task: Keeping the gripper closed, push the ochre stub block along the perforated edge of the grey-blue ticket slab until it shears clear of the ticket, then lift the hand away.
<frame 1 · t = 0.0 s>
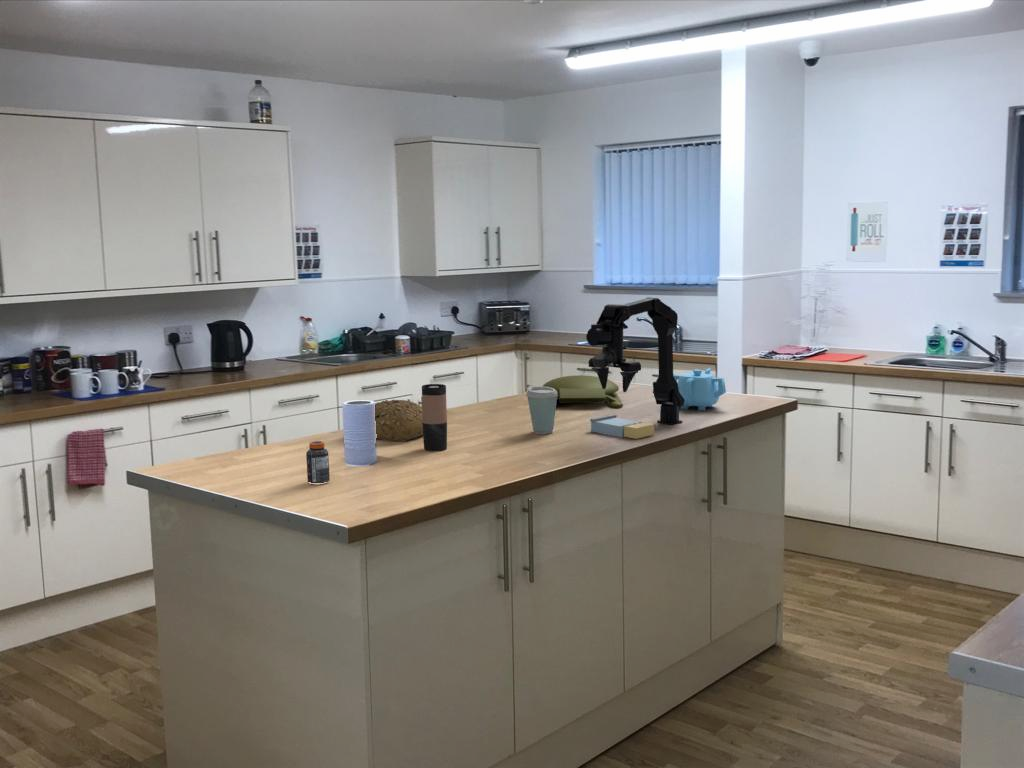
hand: (614, 390, 328), 15 cm above the countertop, fingers open, 9 cm apart
ticket: (616, 431, 334), on the countertop
stub: (639, 430, 326), point 2 cm above the countertop, slide at 0.0 cm
teapot: (698, 407, 378), on the countertop
disposable coffee cup: (542, 433, 335), on the countertop
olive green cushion: (580, 402, 394), on the countertop
bread: (393, 436, 334), on the countertop
travel mug: (435, 449, 312), on the countertop
pill bottle: (318, 483, 273), on the countertop
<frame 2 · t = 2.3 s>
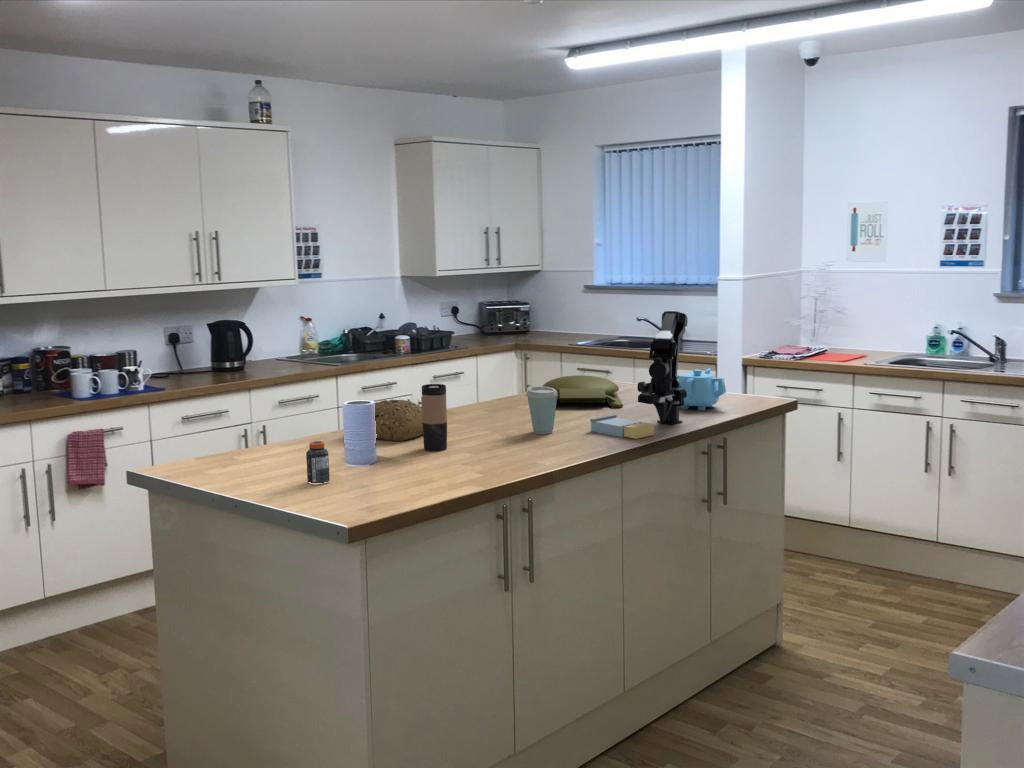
hand: (662, 421, 334), 3 cm above the countertop, fingers closed
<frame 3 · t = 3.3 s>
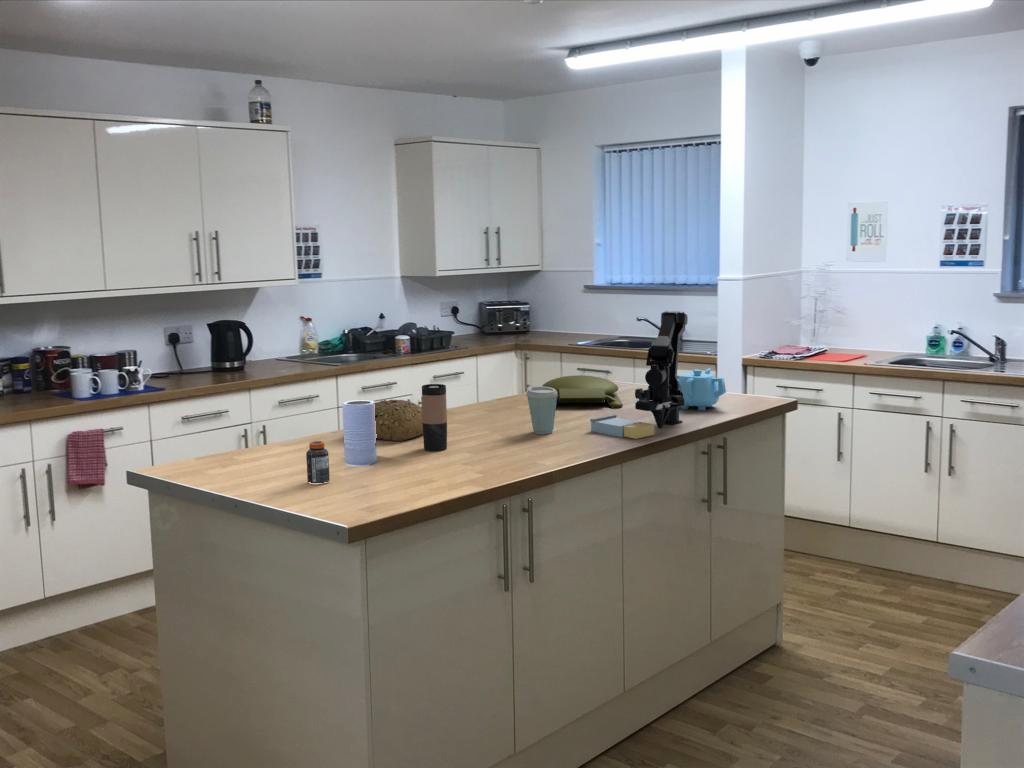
hand: (659, 428, 333), 1 cm above the countertop, fingers closed
nothing on the countertop moved.
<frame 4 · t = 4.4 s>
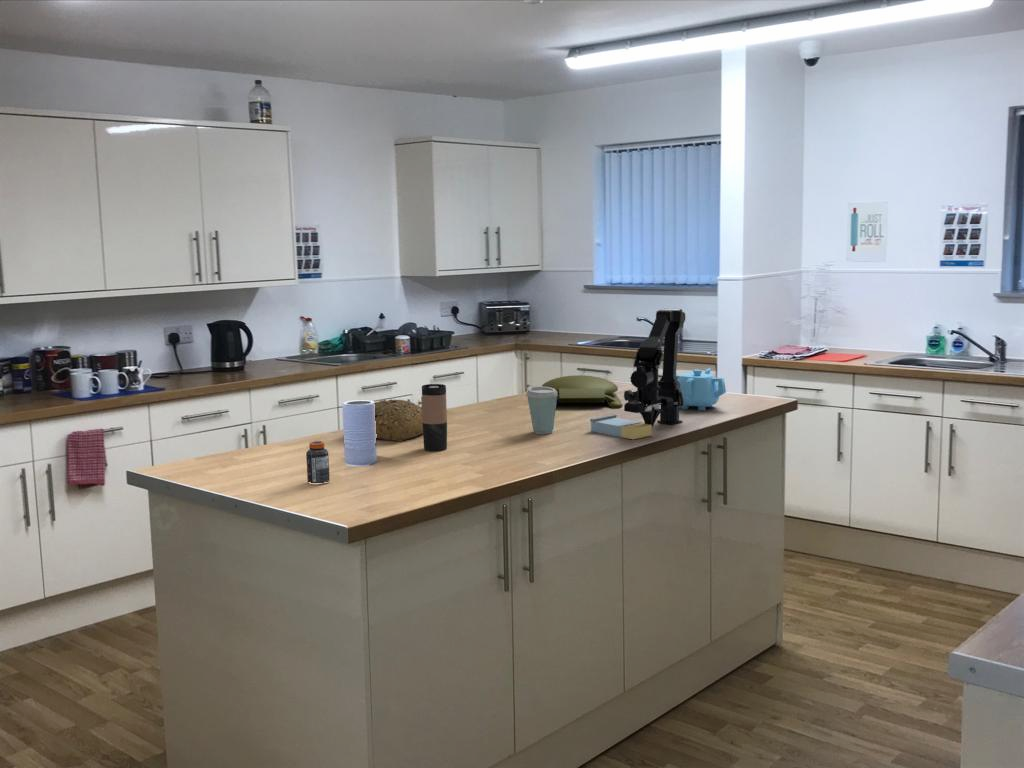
hand: (649, 430, 329), 1 cm above the countertop, fingers closed
stub: (636, 430, 325), point 2 cm above the countertop, slide at 1.3 cm, touching gripper
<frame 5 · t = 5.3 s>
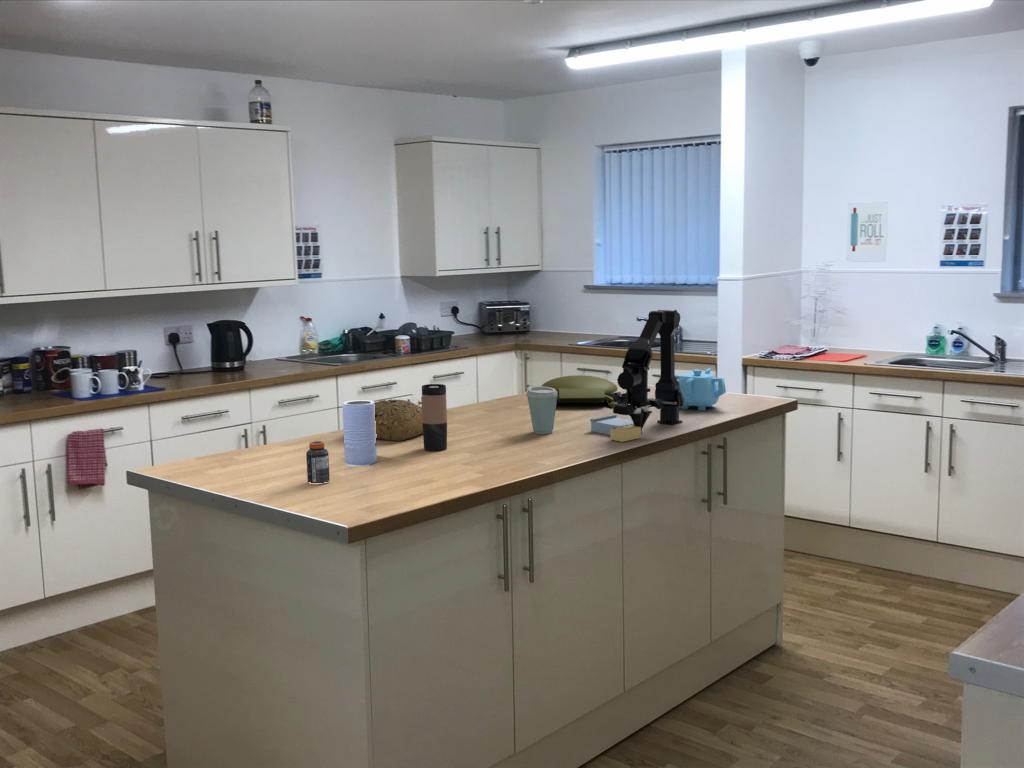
hand: (638, 432, 326), 1 cm above the countertop, fingers closed
stub: (625, 433, 322), point 2 cm above the countertop, slide at 6.5 cm, touching gripper
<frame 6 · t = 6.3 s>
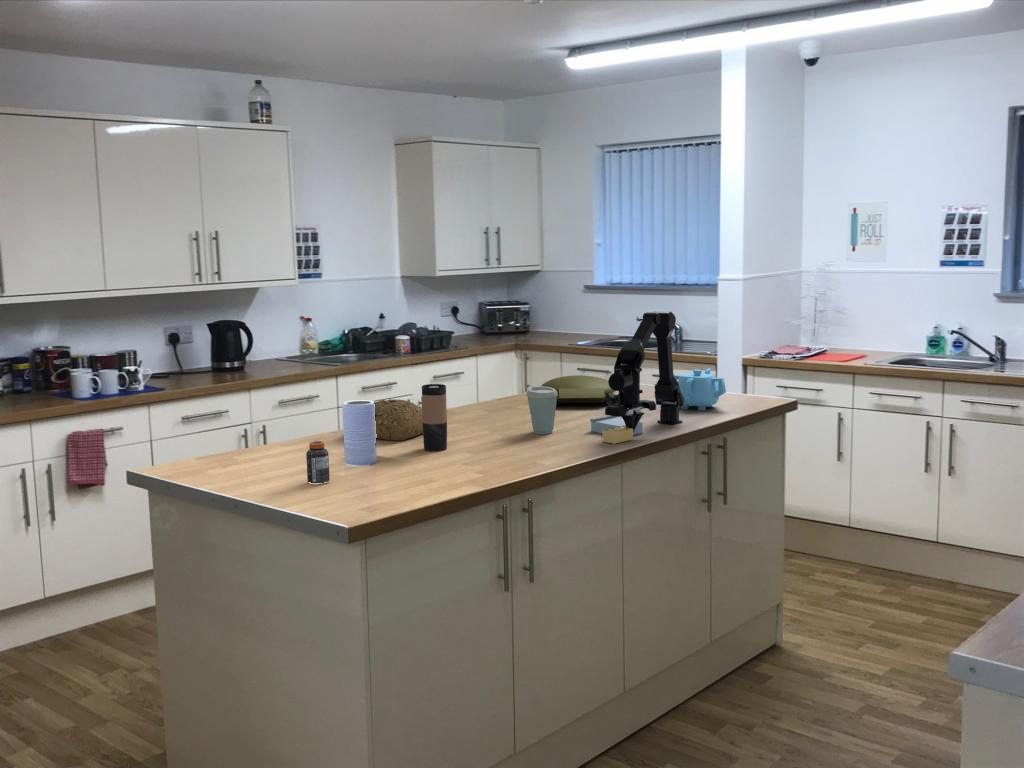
hand: (630, 434, 323), 1 cm above the countertop, fingers closed
stub: (617, 434, 320), point 2 cm above the countertop, slide at 10.3 cm, touching gripper
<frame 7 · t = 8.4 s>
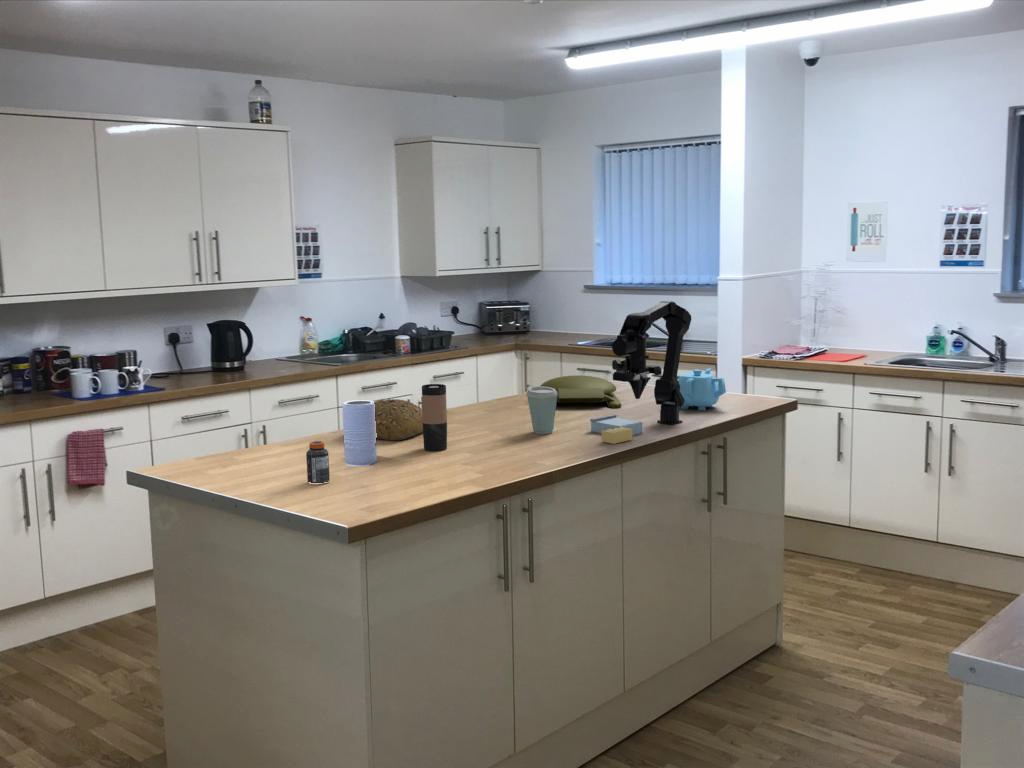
hand: (637, 398, 332), 11 cm above the countertop, fingers closed
stub: (617, 434, 319), point 2 cm above the countertop, slide at 10.5 cm
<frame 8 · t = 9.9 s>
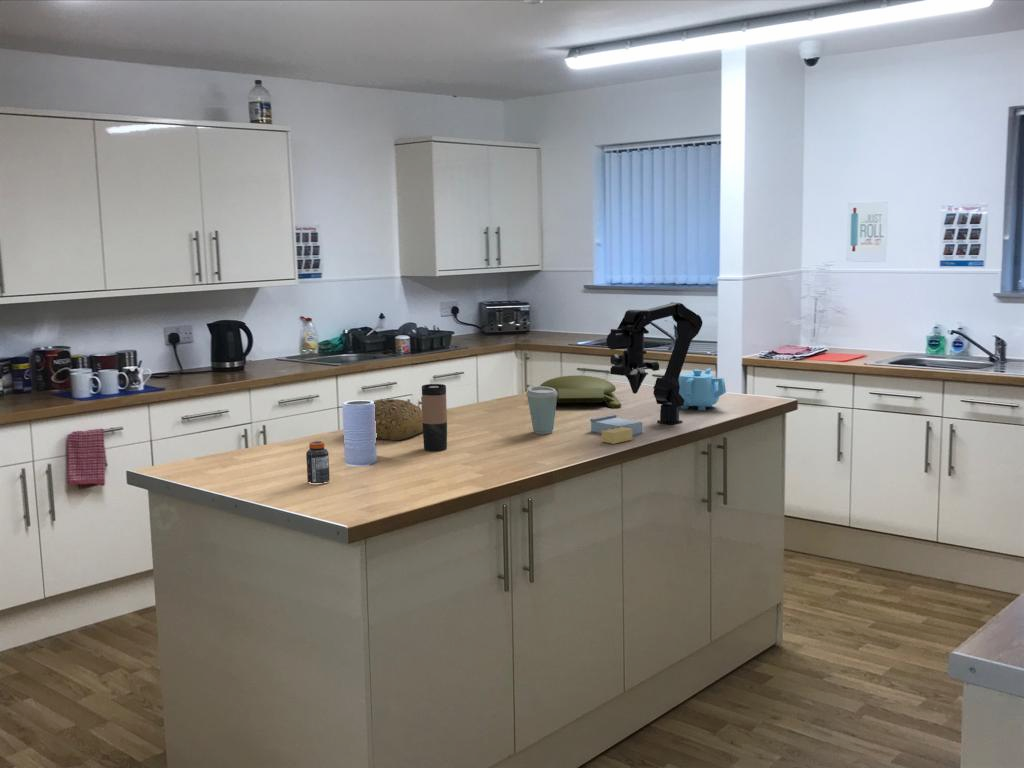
hand: (634, 393, 338), 12 cm above the countertop, fingers closed
at the end: stub slide at 10.5 cm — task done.
